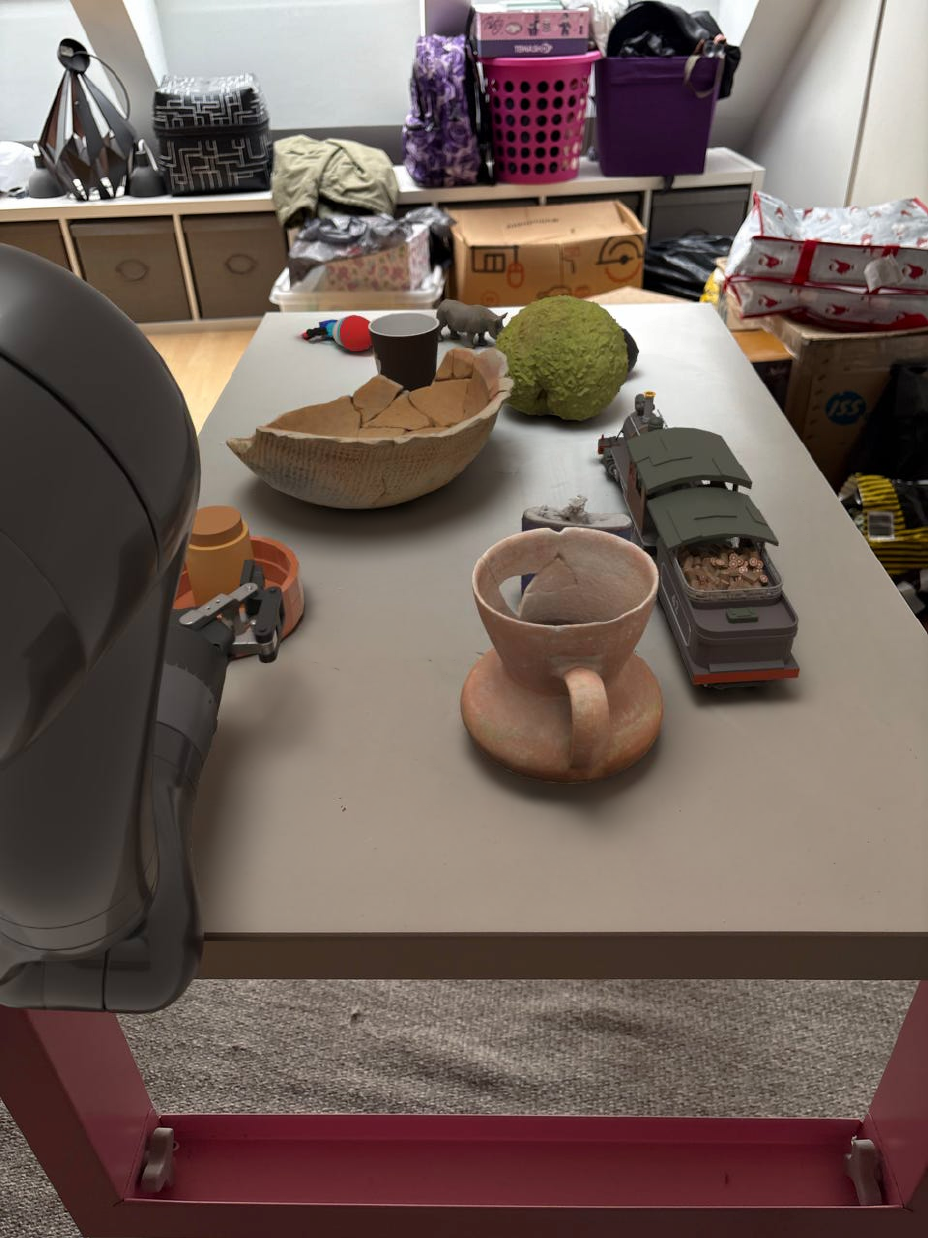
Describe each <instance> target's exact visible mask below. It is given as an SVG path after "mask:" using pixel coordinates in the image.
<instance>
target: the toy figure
mask: <svg viewBox="0 0 928 1238" xmlns="http://www.w3.org/2000/svg"><path fill="white" fill-rule="evenodd" d="M370 322H371V321H370V320H369V319H367V318H366V317H364V316H361V315H357V314H350V315H348V316H344V317H341V318H339V319H327V320H323V321H318V327H314V328H308V329H306V331H305V332H303V333H302V334H300V337H302V338H304V339H307V338H315V337H320V336H326V337H329V338H333V339H334V341H335V342H336V343H337V344H338V345H339V346H342V347H343V348H345V349H346V350H348V351H351V352H362V351H366V350H368V349H370V348H371V347H372V343H371V338H370V333H369V328H368V325H369V323H370Z"/></svg>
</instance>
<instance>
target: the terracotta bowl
mask: <svg viewBox="0 0 928 1238" xmlns="http://www.w3.org/2000/svg"><path fill="white" fill-rule="evenodd" d="M250 540H251V545H252V550H253V556H254V560H255V564H256V565H261V566H262V568H263V572H264V577H265V583H266V585H265V590H266V589H267V588H269V587H272V586H278V587H280V588H281V589H282V595H283V601H284V606H285V612H286V621H285V625H284V629H283V634H282V638H281V640H283V639H284V638H285V637H286V636H288V635H289V634H290V633H291V632H292V631H293V630H294V629H295V627H296V626H297V625H298V622H299V621H300V618H301V616H302V615H303V613H304V608H305V607H304V606H305V593H304V588H303V587H304V586H303V580H302V575H301V567H300V562H299V561H298V558H297V556H296V554H295V553H294V551H293V550H292V549H291V548H289V547H288V546H286V545H285V544H283V542H280V541H278V540H274V539H271V538H268V537H265V536H259V535H250ZM188 607H196V605H195V601H194V597H193V593H192V588H191V584H190V580H189V576H188V572H187V568H186V563H184V566H183V570H182V574H181V578H180V582H179V586H178V590H177V594H176V598H175V602H174V606H173V609H183V608H188ZM243 610H244V608H239V612H241V611H243ZM217 618H219V619H220V620H221V621H222V618H221V614H220V615H218V616H217ZM256 621H257V620H256ZM249 627H250V625H249V626H247V627H246V628H245V630H244V633H245V632H246V631H247V629H248V628H249ZM244 633H243V634H244ZM248 655H249V656H250V654H237V655H236V657H235V658H234V659H237V658H241V657H246V656H248Z"/></svg>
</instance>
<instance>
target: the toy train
mask: <svg viewBox="0 0 928 1238" xmlns="http://www.w3.org/2000/svg"><path fill="white" fill-rule="evenodd" d="M656 395H657V393H656V392H655V391H651V390H648V391H644V392H643V393H638V394H636V395H635V396H634V411H633V412H632V413H630V411H629V410H627V411H626V413H627V414H628V416H627V417H625V419H624V421H623V423H622V427H621V429H620V430H619V432H618V434H617V436H616V435H612V436H608V437H605V433H601V437H600V438H599V439H598V440H597V441H598V442H597V454H598V455H599V456H600V455H603V457H602V464H603V467H604V469H605V472H606V474H607V475H608V476H609V477H611V478H615V482H616V483H620V485H621V489H622V491H623V499H624V501H625V503H626V507H627V509H628V511H629V514H630V516H631V518H632V519H631V520H632V522H633V527H632V533H633V534H634V536H635V538H636V541H637V543H638V547H640V548H641V549H642V550H643V551H644V552H646V553H647V554H648V555H649V556H650V557H651V558H652V560H653V562H654V563H655V565H656V567H657V570H658V574H659V585H658V591H657V595H658V597H659V599H660V602H661V605H662V608H663V610H664V613H665V615H666V618H667V620H668V624H669V625H670V628H671V631H672V633H673V637H674V638H675V641H676V644H677V646H678V649H679V651H680V654H681V656H682V659H683V661H684V665H685V666H686V669H687V672H688V675H689V678H690V680H691V682H692V685H703V686H704V687H707V689H711V688H714V689H717V690H724V688H725V689H726V688H742V687H755V688H761V687H762V686H766V685H767V684H768V681H769V680H786V679H787V680H788V679H798V678H799V675H800V672H801V671H800V670H801V668H800V666H799V664H798V662H797V660H796V658H795V657H794V655H793V653H792V649H793V644H794V639H795V638H796V636H797V634H798V631H799V627H798V625H799V616H798V614H797V612H796V611H795V609H794V606H793V605H792V604H791V602H790V600H789V598H788V596H787V595H786V593H785V591H784V590H783V586H784V577H783V575H782V574H781V572H780V571H779V569H778V567H777V566H776V564H775V562H774V560H773V559H772V557H771V555H770V553H769V552H768V550H767V549H766V543H767V544H770V545H772V546H774V547H779V543H780V542H779V540H778V538H777V536H776V535H775V534H774V531H773V530H772V529H771V527H770V525H769V523H768V521H767V520H766V519H765V517H764V515H763V514H762V511H760V509H759V508H757V507H756V505H755V504H754V501H753V500H752V499H751V497H750V495H749V494H746V493H743V492H740V491H739V487H743V488H746V489H749V490H752V487H753V480H752V479H751V477H750V476H749V474H748V472H747V471H746V469H745V468H744V466H743V465H741V464H740V462H739V461H738V459H737V457H736V456H735V455H734V452H733V451H732V450H731V448H730V447H729V445H728V443H727V441H726V440H725V439H724V437H723V435H721V434H718V433H715V432H713V431H709V430H705V429H700V428H696V427H684V426H683V427H681V426H680V427H679V426H673V427H669V426H668V424H667V423H666V420H665V418H664V417H663V414H662V413H661V412H660V409H658V408H657V409H656V405H655V404H654V402H655V400H654V399H655V396H656ZM655 410H657V413H658V415H659V416H657V414H656V413H654V411H655ZM621 434H622V436H621ZM703 481H706V482H709V483H704V482H703ZM726 483H727V484H732V487H731V489H729V488H728V486H727V484H726ZM735 538H736V539H737V538H738V544H737V545H738V546H734V544H733V543H732V542H733V541H734V540H735Z"/></svg>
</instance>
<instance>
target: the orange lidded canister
mask: <svg viewBox="0 0 928 1238" xmlns="http://www.w3.org/2000/svg"><path fill="white" fill-rule="evenodd" d="M250 536H251V535H250V530H249V526H248V524H247V522H246V521H244V519H242V514H241V512H240V511H239V509H237V508H235V507H232V506H228V505H209V506H205V507H200V508H197V512H196V517H195V521H194V526H193V530H192V534H191V539H190V543H189V547H188V551H187V555H186V559H185V563H186V568H187V572H188V576H189V580H190V584H191V588H192V593H193V597H194V601H195V605H196V606H203V605H205V604H206V603H208V602H209V601H211V600H212V599H214V598H215V597H216V596H218V595H219V594H225V595H229V594H231V593H232V592H234V591H235V590H237V589H238V588H239V587H240V579H241V574H242V570H243V565H244V560H249V559H254V556H253V550H252V545H251V540H250ZM240 608H244V604H243V605H241V606H240Z"/></svg>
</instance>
